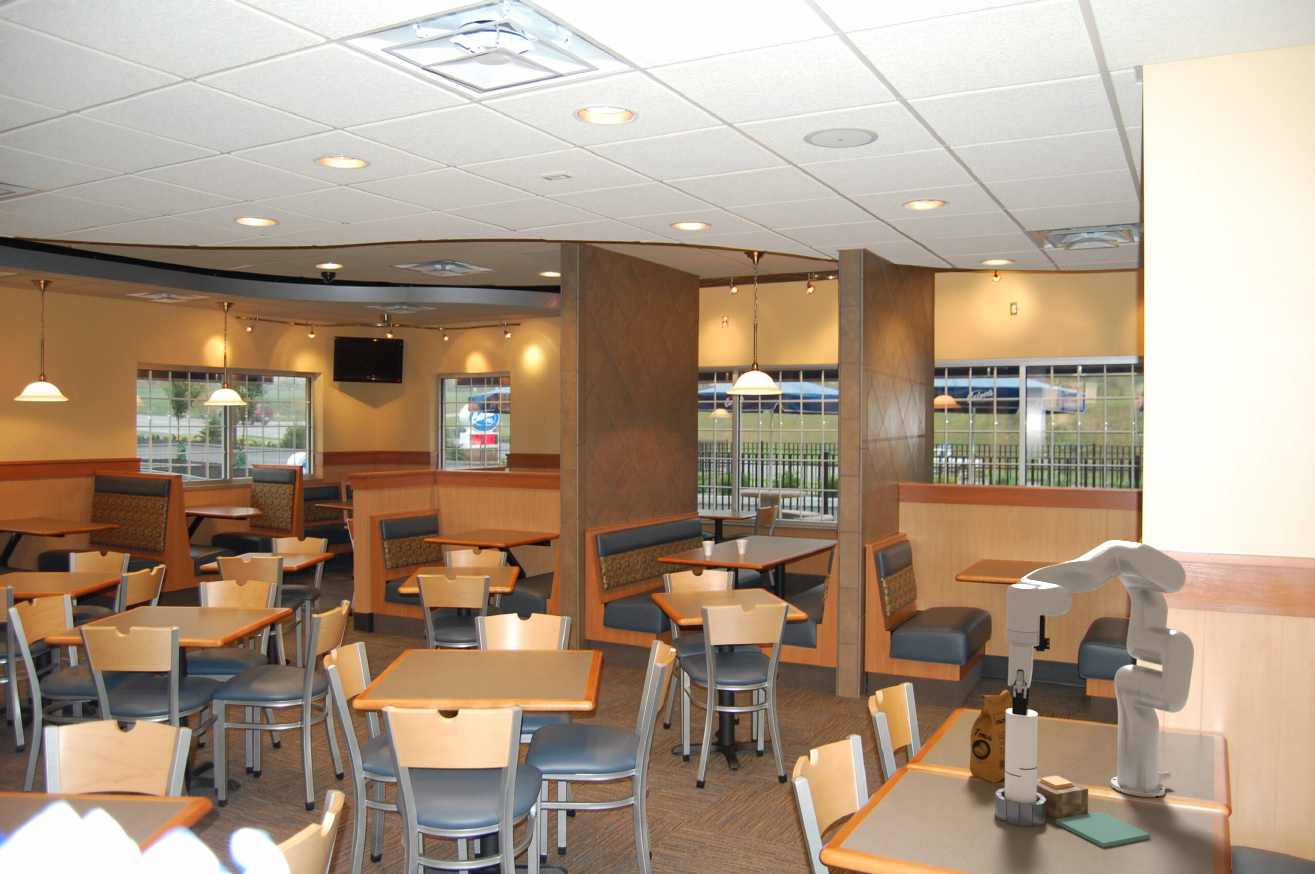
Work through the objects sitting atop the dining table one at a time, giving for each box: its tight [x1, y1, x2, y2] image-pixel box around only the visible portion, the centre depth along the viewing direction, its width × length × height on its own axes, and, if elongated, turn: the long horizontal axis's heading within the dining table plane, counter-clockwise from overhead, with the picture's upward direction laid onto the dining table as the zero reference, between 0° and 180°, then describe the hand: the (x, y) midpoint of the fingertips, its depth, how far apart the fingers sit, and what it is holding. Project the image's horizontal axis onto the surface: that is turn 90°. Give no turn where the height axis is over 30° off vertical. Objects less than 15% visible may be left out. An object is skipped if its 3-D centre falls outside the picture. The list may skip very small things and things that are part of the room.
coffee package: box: [969, 689, 1012, 784], centre depth 260 cm, size 10×12×22 cm
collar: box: [994, 787, 1047, 828], centre depth 232 cm, size 11×11×5 cm
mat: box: [1055, 811, 1151, 848], centre depth 224 cm, size 14×14×1 cm
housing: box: [1037, 774, 1089, 820], centre depth 237 cm, size 10×10×6 cm
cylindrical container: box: [1004, 708, 1039, 803], centre depth 232 cm, size 7×7×25 cm
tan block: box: [1040, 775, 1073, 790], centre depth 237 cm, size 5×5×6 cm
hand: (1020, 709), depth 231 cm, fingers open, 9 cm apart
